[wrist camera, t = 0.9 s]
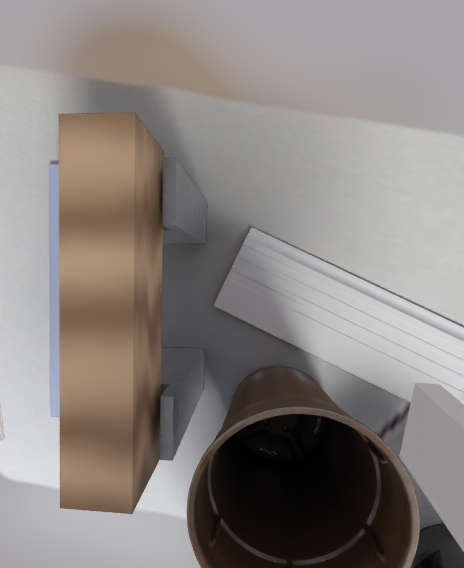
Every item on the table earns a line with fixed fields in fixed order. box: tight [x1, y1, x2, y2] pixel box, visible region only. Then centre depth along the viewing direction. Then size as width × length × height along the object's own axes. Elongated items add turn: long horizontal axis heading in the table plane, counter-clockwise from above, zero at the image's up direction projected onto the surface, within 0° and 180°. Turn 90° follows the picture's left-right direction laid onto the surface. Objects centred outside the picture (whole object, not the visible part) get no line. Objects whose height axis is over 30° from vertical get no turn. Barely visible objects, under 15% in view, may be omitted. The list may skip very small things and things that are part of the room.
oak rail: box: [59, 113, 164, 514], centre depth 23 cm, size 26×5×6 cm, turn 179°
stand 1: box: [163, 158, 207, 244], centre depth 30 cm, size 5×8×14 cm, turn 89°
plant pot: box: [187, 366, 420, 568], centre depth 29 cm, size 16×16×16 cm
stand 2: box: [160, 347, 205, 461], centre depth 31 cm, size 5×8×14 cm, turn 89°
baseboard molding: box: [213, 227, 464, 404], centre depth 35 cm, size 31×3×12 cm
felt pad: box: [49, 164, 60, 417], centre depth 38 cm, size 32×10×1 cm, turn 179°
